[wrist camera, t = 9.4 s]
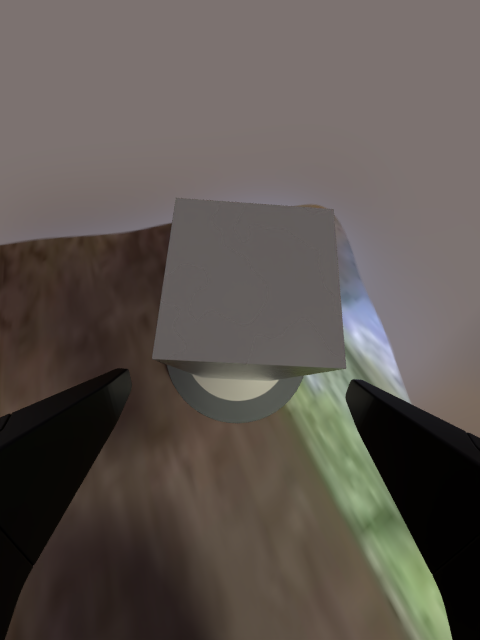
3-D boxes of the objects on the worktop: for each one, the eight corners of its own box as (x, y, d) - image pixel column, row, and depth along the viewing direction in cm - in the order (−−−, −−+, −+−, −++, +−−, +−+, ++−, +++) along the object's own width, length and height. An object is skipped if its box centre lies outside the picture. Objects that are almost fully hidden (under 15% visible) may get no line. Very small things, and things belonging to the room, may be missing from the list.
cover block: (269, 381, 18) (346, 368, 6) (202, 377, 17) (151, 358, 6) (270, 317, 19) (333, 209, 8) (208, 313, 19) (175, 198, 7)
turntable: (289, 437, 18) (293, 441, 17) (149, 399, 18) (143, 400, 17) (312, 305, 21) (317, 299, 20) (193, 274, 21) (191, 267, 20)
